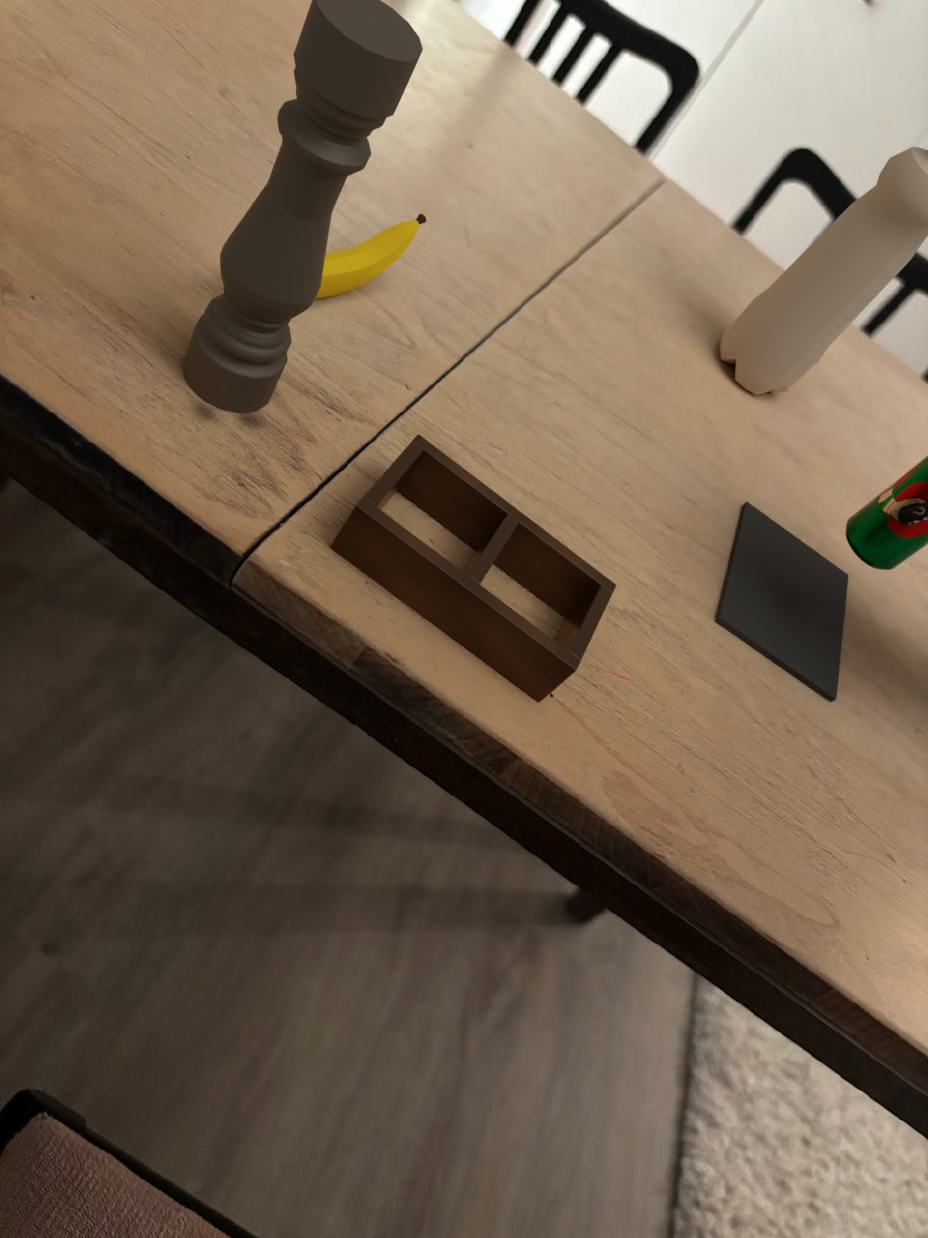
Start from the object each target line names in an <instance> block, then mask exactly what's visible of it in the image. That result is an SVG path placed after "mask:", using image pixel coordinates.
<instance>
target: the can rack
mask: <svg viewBox="0 0 928 1238" xmlns="http://www.w3.org/2000/svg"><path fill="white" fill-rule="evenodd" d="M396 492H398V493H400V494H401V495H402V496H404V498H406V499H407V500H409V501H410V502H412V503H413V504H414V505H416V506H417V507H418V508H420V509H421V510H422V511H423V512H425V513H426V514H427V515H429V516H430V517H431V518H433V519H434V520H435V521H437V522H438V523H439V524H440V525H442V526H443V527H445V528H446V529H447V530H449V531H450V532H451V533H453V534H454V535H455V536H457V537H458V538H459V539H461V540H462V541H463V542H465V544H467V545H469V546H470V547H471V548H472V549H474V550H475V553H474V554H473V556H472V557H471V559H470V560H469V562H468V563H467V565H466V566H465V568H464V569H463V571H462V569H460V568H458V567H457V566H456V565H454V563H452V562H451V561H449V560H448V559H447V558H445V556H442V555H441V553H439V552H437V551H436V550H435V549H433V548H432V547H431V546H429V544H426V543H425V542H424V541H422V540H421V539H420V538H418V537H417V536H416V535H414V534H413V533H412V532H411V531H409V530H408V529H407V528H405V527H404V526H403V525H401V524H400V523H399V522H397V521H396V520H395V519H393V518H392V517H391V516H389V515H388V514H387V513H385V512H384V511H383V508H384V507H385V506H386V504H387V503H388V502H389V501H390V500H391V498H392V497H393V496H394V495H395V494H396ZM329 548H331V549H332V550H333V551H335V552H336V553H337V554H338V555H340V556H341V557H342V558H344V559H345V560H346V561H348V562H349V563H350V564H352V565H353V566H354V567H356V568H357V569H359V570H360V571H361V572H362V573H364V574H365V575H366V576H368V577H369V578H371V580H373V581H375V583H377V584H379V585H380V586H382V588H384V589H386V590H387V591H388V592H389V593H390V594H392V595H394V596H395V597H396V598H398V599H399V600H400V601H401V602H403V603H404V604H406V605H407V606H408V607H410V608H411V609H412V610H414V611H415V612H416V613H418V614H419V615H421V617H423V618H425V619H426V620H427V621H429V622H430V623H431V624H432V625H434V626H435V627H436V628H438V629H439V630H441V631H442V632H443V633H444V634H446V635H447V636H449V637H450V638H452V639H453V640H454V641H456V642H457V643H458V644H459V645H461V646H462V647H463V648H465V649H466V650H468V651H469V652H470V653H472V654H473V656H476V657H477V658H478V659H480V660H481V661H483V662H484V663H485V664H486V665H488V666H489V667H490V668H492V669H493V670H494V671H496V672H497V673H499V674H500V675H501V676H502V677H504V678H505V679H507V680H508V681H509V682H511V683H512V684H513V685H515V686H516V687H517V688H518V689H520V690H522V691H523V692H524V693H526V694H527V695H528V696H529V697H531V698H532V699H533V700H535V701H536V702H538V703H541V702H542V701H543V700H544V699H546V698H547V697H548V696H549V695H550V694H552V692H553V691H555V690H556V689H557V688H558V687H560V686H561V685H562V684H563V683H565V682H566V680H568V679H569V678H570V677H571V676H572V675H574V674H575V673H576V672H577V670H578V668H579V666H580V664H581V662H582V660H583V657H584V655H585V653H586V651H587V650H588V647H589V644H590V643H591V640H592V639H593V636H594V634H595V632H596V630H597V627H598V626H599V624H600V621H601V619H602V617H603V615H604V612H605V611H606V609H607V606H608V604H609V602H610V600H611V598H612V596H613V594H614V592H615V589H616V587H617V584H616V583H615V582H614V581H612V580H611V579H609V578H608V577H607V576H605V575H604V574H603V573H602V572H600V571H599V570H598V569H596V568H595V567H594V566H592V565H591V564H590V563H588V561H587V560H585V559H583V558H582V557H581V556H580V555H578V554H577V553H576V552H574V551H573V550H571V549H570V548H569V547H568V546H567V545H565V544H564V543H562V542H561V541H560V540H559V539H557V538H556V537H554V536H553V535H552V534H551V533H550V532H548V531H547V530H545V528H543V527H542V526H540V525H539V524H537V523H536V522H535V521H534V520H532V519H531V518H529V516H527V515H526V514H525V513H524V512H522V511H520V510H519V509H518V508H517V507H515V506H514V505H513V504H512V503H510V502H509V501H508V500H506V499H505V498H503V497H502V496H500V494H498V493H497V492H496V491H494V490H493V489H492V488H491V487H489V486H488V485H486V484H485V483H484V482H482V480H480V479H478V477H476V476H475V475H473V474H472V473H471V472H470V471H468V470H467V469H465V468H464V467H463V466H462V465H460V464H459V463H458V462H456V461H455V460H454V459H452V458H451V457H450V456H448V455H447V454H446V453H444V451H442V450H441V449H439V448H438V447H437V446H436V445H434V444H433V443H431V442H430V441H428V439H426V438H425V437H423V435H421V434H419V433H417V435H416V436H415V437H414V438H413V439H412V440H411V442H410V443H409V444H408V445H407V446H406V447H405V448H404V449H403V451H402V452H401V453H400V454H399V455H398V456H397V458H395V460H394V461H393V462H392V463H391V464H390V465H389V467H388V468H387V469H386V470H385V471H384V472H383V473H382V474H381V476H380V477H379V478H378V479H377V480H376V482H375V483H374V484H372V486H371V487H370V488H369V489H368V490H367V492H366V493H365V494H364V495H363V496H362V498H361V499H360V500H359V501H358V502H357V504H356V505H355V506H354V507H353V509H352V510H351V512H350V514H349V516H348V517H347V519H346V520H345V522H344V523H343V525H342V527H341V529H340V530H339V531H338V533H337V534H336V537H334V539H333V541H332V543H331V545H330V546H329ZM493 565H495V566H497V568H499V569H500V570H502V571H503V572H504V573H506V574H507V575H508V576H510V577H511V578H512V579H513V580H515V581H516V582H518V584H520V585H521V586H523V587H524V588H525V589H527V590H528V591H529V592H531V593H532V594H534V596H536V597H537V598H538V599H540V600H542V601H543V602H544V603H545V604H546V605H548V606H549V607H551V608H552V609H553V610H554V611H556V612H557V613H558V614H560V615H561V616H562V617H564V618H565V620H564V621H563V624H562V625H561V628H560V630H559V632H558V634H557V635H556V637H555V639H553V638H551V636H549V635H548V634H546V633H545V632H544V631H543V630H541V629H540V628H539V627H537V626H536V625H534V624H533V623H532V622H530V620H528V619H527V618H525V617H524V616H522V615H521V614H520V613H519V612H517V611H516V610H515V609H513V608H512V607H510V606H509V605H508V604H506V603H505V602H504V601H502V600H501V599H500V598H498V597H497V596H496V595H495V594H493V593H492V592H491V591H489V590H487V588H485V587H484V586H483V585H481V583H482V582H483V580H484V579H485V577H486V576H487V574H488V573H489V571H490V570H491V568H492V567H493Z"/></svg>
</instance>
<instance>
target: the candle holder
mask: <svg viewBox="0 0 928 1238" xmlns="http://www.w3.org/2000/svg"><path fill="white" fill-rule="evenodd" d="M423 50H424V48H423V44H422V41H421V38H420V36H419V35H418V33H417V32H416V31H415V29H414V28H413V26H412V25H411V24H410V23H409V22H408V20H406V19H405V18H404V17H403V16H402V15H401V14H400V13H399V12H398V11H396V10H395V9H394V8H393V7H391V6H390V5H388V4H387V3H385V2H384V1H382V0H311V2H310V6H309V8H308V11H307V14H306V17H305V20H304V23H303V25H302V29H301V31H300V34H299V36H298V40H297V43H296V45H295V49H294V52H293V60H294V65H295V66H294V69H293V77H294V82H295V83H294V84H295V96H296V98H293V99H290V100H286V101H284V102H283V103H282V105H281V107H280V108H279V110H278V112H277V116H276V121H277V128H278V132H279V134H280V136H281V140H282V142H281V145H280V147H279V150H278V153H277V156H276V158H275V161H274V164H273V166H272V169H271V172H270V175H269V177H268V180H267V182H266V184H265V185H264V187H263V188H262V189H261V191H260V192H259V194H258V195H257V197H256V198H255V200H254V201H253V202H252V204H251V205H250V206H249V208H248V209H247V211H246V212H245V213H244V215H243V217H242V218H241V219H240V221H239V222H238V224H237V225H236V226H235V228H234V229H233V230H232V232H231V233H230V234H229V236H228V237H227V239H226V241H225V243H224V244H223V246H222V248H221V251H220V254H219V268H220V277H221V281H222V285H223V293H221V294H219V295H217V296H214V297H213V298H211V299H210V300H209V303H208V304H207V306H206V307H205V309H204V312H203V314H201V316H200V317H199V319H198V320H197V322H196V324H195V326H194V328H193V331H192V334H191V336H190V340H189V343H188V346H187V349H186V352H185V354H184V358H183V360H182V368H183V376H184V378H185V380H186V381H187V383H188V385H189V387H190V389H191V390H192V391H193V392H194V393H195V394H197V396H198V397H200V398H201V399H202V400H203V401H204V402H206V403H207V404H211V405H212V406H215V407H216V408H219V409H220V410H223V411H227V412H234V413H238V414H245V413H253V412H257V411H259V410H260V409H262V408H264V407H266V406H267V405H269V402H270V400H271V398H272V396H273V393H274V392H275V389H276V387H277V385H278V382H279V380H280V378H281V376H282V374H283V372H284V370H285V368H286V365H287V363H288V360H289V357H288V351H289V349H290V347H291V345H292V343H293V341H292V333H291V327H290V326H289V324H290V322H291V320H292V319H294V318H296V317H298V316H299V315H302V314H303V313H304V312H306V311H308V310H309V308H310V307H312V305H313V304H314V302H315V300H316V299H317V298H316V295H317V293H318V291H319V289H320V287H321V281H322V274H323V267H324V260H325V254H326V253H327V247H328V241H329V235H330V234H329V233H330V227H331V221H332V215H333V211H334V209H335V207H336V204H337V202H338V200H339V197H340V195H341V193H342V190H343V188H344V186H345V183H346V182H347V179H348V177H349V176H352V175H354V174H355V173H359V172H362V171H363V170H364V169H365V168H366V167H367V164H368V163H369V160H370V158H371V156H372V150H371V145H370V141H369V139H368V137H370V136H371V134H372V133H373V132H374V131H375V130H377V129H379V128H381V127H383V126H384V124H385V122H386V120H387V118H389V117H392V116H394V114H395V112H396V110H397V108H398V106H399V104H400V102H401V100H402V97H403V95H404V94H405V91H406V88H407V86H408V84H409V82H410V80H411V77H412V75H413V73H414V71H415V68H416V66H417V64H418V62H419V59H420V57H421V55H422V53H423Z"/></svg>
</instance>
